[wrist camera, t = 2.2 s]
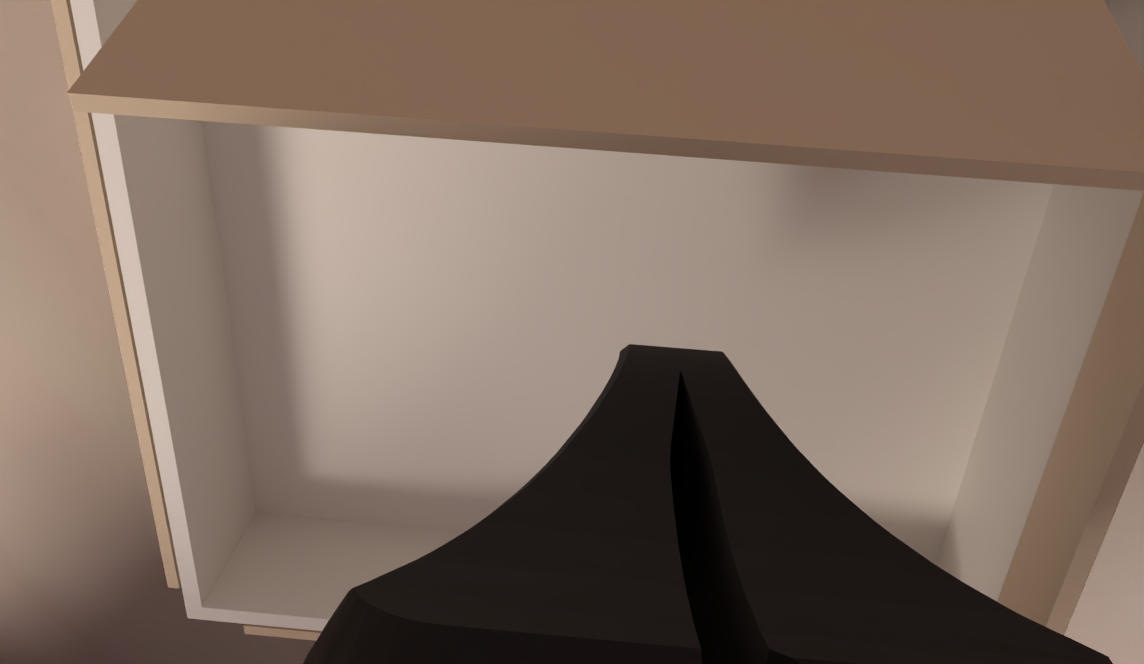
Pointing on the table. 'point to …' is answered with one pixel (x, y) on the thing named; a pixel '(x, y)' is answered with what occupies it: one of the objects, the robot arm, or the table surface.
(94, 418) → the table surface
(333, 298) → the carton
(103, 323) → the table surface
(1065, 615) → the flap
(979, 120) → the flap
